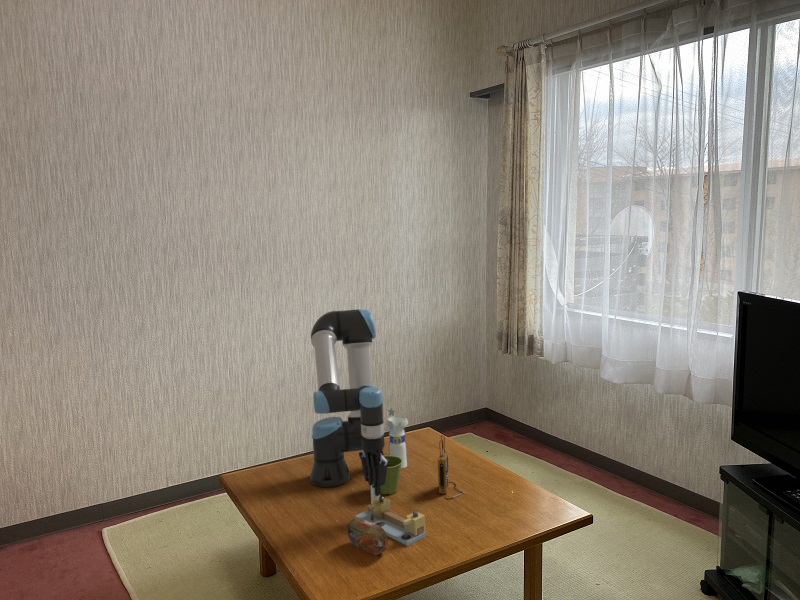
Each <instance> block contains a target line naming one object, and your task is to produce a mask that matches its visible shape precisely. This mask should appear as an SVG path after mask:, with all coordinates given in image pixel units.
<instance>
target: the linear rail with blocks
mask: <svg viewBox="0 0 800 600" xmlns="http://www.w3.org/2000/svg"><path fill="white" fill-rule="evenodd" d="M369 505H371V503H369V504H367V510H365V511H363V512H360V513H358V514H356V515H355V516H354V520H356V519H359V518H360V519H364V520H366V521H369V522H371V523H374V524H376V525H379V526H381V527H382V528H383V529H384V531H385V532H386V534H387V537H389V538H391V539H393V540H394V541H396V542H399V543H400V544H403V545H405V546H406V547H409V546H410V545H413V544H415V543H416V542H418V541H420V540H422V539H424V538H425V537H427V532H426V530H427V529H426V515H425V514H422V513H421V512H419V511H416V510H415V511H412V513H410V514H408V515H406V516H405V517H402V516H400V515H397V514H396V513H393V512H392V511H391V512H390V511H385V512H383V518H382V519H380V518H378V517H376V516H374V520H371V515H370V508H369Z"/></svg>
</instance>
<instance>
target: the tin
mask: <svg viewBox="0 0 800 600" xmlns="http://www.w3.org/2000/svg"><path fill="white" fill-rule="evenodd" d="M347 535H348V539H349V541H350V542H351V544H352V545H353V547H355V548H357V549H360V550H362V551H365V553H369V554H371V555H374V556H380V555H381V554H383V553H384V552H386V550H387V549H388V546H389V540H388V536H387V534H386V532H385V531H384V529H383V528H382V527H381V526H379V525H376V524H374V523H371V522H369V521H366V520H364V519H360V518H359V519H356V520H355V519H353V520H351V521H349V523H348V525H347Z"/></svg>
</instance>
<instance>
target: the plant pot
mask: <svg viewBox="0 0 800 600" xmlns="http://www.w3.org/2000/svg"><path fill="white" fill-rule="evenodd" d="M384 457H385V459H389V463H388V465H387V472H386V480H385V484H384V485H382V486H380V488H381V495H393V494H395V493H397V492H398V490H399V481H400V475H401V469H402V468H401V464H402V462H403V460H402V459H401V458H400V457H397V456H389V455H384Z"/></svg>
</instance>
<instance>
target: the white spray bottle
mask: <svg viewBox="0 0 800 600" xmlns="http://www.w3.org/2000/svg"><path fill="white" fill-rule="evenodd" d="M387 411H388V413H389V415H388V416H389V417H388V418H387V422H386V426H388V428H389V431H388V435H389V442H388V456H397V457H400V458H401V459H402V460H403V462H402V464H401V469H404V468H407V467H408V466H409V462H408V461H409V460H408V449H407V441H406V434H407V433H406V429H405V428H406V427H407V426H408V425H409V421H408V419H407V417H406V416H403V415H395V414H394V413H395V412H396V410H394V409H393V408H392V407H391V408H390V409H387Z"/></svg>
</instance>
